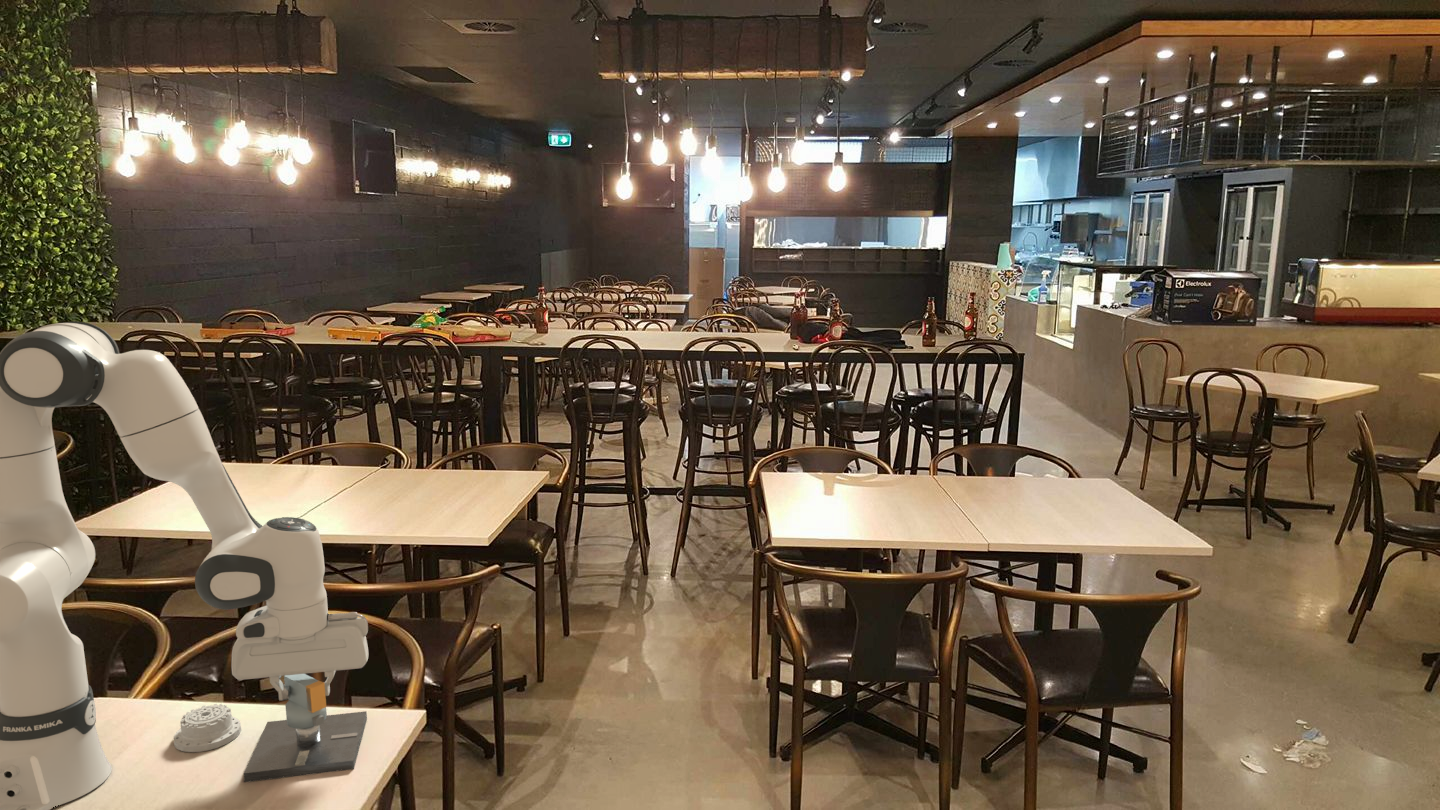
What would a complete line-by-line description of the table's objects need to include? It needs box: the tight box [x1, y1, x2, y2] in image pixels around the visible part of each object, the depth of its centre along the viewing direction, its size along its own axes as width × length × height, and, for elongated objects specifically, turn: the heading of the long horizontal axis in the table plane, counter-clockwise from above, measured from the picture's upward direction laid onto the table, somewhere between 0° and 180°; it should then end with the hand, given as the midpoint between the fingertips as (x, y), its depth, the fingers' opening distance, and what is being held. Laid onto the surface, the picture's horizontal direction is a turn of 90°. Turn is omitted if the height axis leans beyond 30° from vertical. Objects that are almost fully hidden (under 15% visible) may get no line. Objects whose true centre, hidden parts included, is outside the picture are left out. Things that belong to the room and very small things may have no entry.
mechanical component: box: [173, 703, 242, 753], centre depth 157 cm, size 10×4×10 cm
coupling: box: [283, 673, 327, 729], centre depth 152 cm, size 8×6×7 cm
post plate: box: [243, 710, 368, 783], centre depth 154 cm, size 16×16×5 cm
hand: (304, 696), depth 152 cm, fingers closed on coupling, 4 cm apart
